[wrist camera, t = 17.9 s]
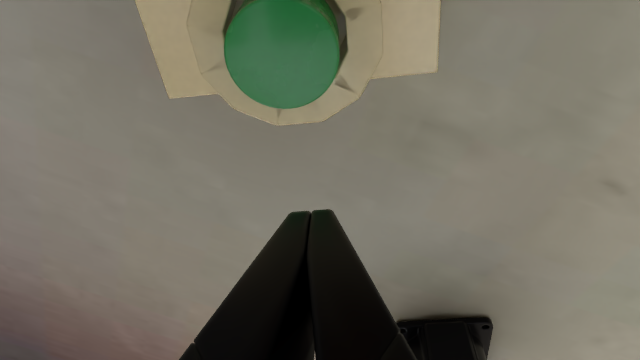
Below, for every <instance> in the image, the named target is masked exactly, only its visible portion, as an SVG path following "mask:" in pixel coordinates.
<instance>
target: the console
mask: <svg viewBox="0 0 640 360" xmlns="http://www.w3.org/2000/svg"><path fill="white" fill-rule="evenodd" d="M325 1H326V2H327V3H328V5H329V6H330V8H331V9H332V11H333V13H334V15H335V18H336V21H337V24H338V30H339V52H340V59H339V67H338V71H337V74H336V76H335V79H334V80H333V82H332V84H331V86H330V87H329V88H328V89H327V91H326V92H325V93H324V94H323V95H322V96H320V97H319V98H318V99H316V100H315V101H313V102H311V103H309V104H307V105H304V106H301V107H298V108H292V109H278V108H272V107H268V106H265V105H262V104H260V103H258V102H256V101H254V100H253V99H251V98H250V97H248V96H247V95H246V94H244V93H243V92H242V91H241V90H240V89H239V87H238V86H237V85H236V84H235V82H234V81H233V79H232V77H231V76H230V74H229V71H228V69H227V66H226V63H225V58H224V40H225V35H226V32H227V29H228V27H229V25H230V23H231V21H232V19H233V18H234V16H235V14H236V13H237V11H238V10H239V8H240V6H241V5H242V3H243V2H244V0H135V3H136V6H137V9H138V11H139V14H140V17H141V20H142V23H143V26H144V29H145V31H146V34H147V37H148V40H149V43H150V46H151V48H152V51H153V54H154V57H155V60H156V63H157V66H158V68H159V71H160V74H161V77H162V80H163V83H164V86H165V88H166V91H167V94H168V97H169V99H172V98H182V97H192V96H203V95H213V94H219V95H220V96H221V97H222V98H223V99H224V100H225V101H226V102H227V103H228V104H229V105H230V106H231V107H232V108H233V109H235V110H237V111H239V112H242V113H244V114H247V115H250V116H252V117H255V118H257V119H260V120H263V121H265V122H268V123H271V124H273V125H278V126H282V125H293V124H304V123H315V122H321V121H322V122H323V121H325V120H326V119H328V118H329V117H331V116H333V115H334V114H336V113H337V112H339V111H340V110H342V109H343V108H345V107H347V106H348V105H350V104H351V103H353V102H354V101H356V100H357V99H359V98H360V96H361V95H362V93H363V92H364V90H365V88H366V86H367V84H368V82H369V80H370V79H375V78H385V77H395V76H405V75H416V74H426V73H436V72H437V71H438V54H439V31H440V9H441V0H325Z"/></svg>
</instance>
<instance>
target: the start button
mask: <svg viewBox="0 0 640 360" xmlns="http://www.w3.org/2000/svg"><path fill="white" fill-rule="evenodd" d="M224 58H225V63H226V66H227V69H228V71H229V74H230V76H231V77H232V79H233V81H234V82H235V84H236V85H237V86H238V87H239V89H240V90H241V91H242V92H243V93H244V94H246V95H247V96H248V97H250V98H251V99H253V100H254V101H256V102H258V103H260V104H262V105H265V106H268V107H272V108H278V109H292V108H298V107H301V106H304V105H307V104H309V103H311V102H313V101H315V100H316V99H318V98H319V97H320V96H322V95H323V94H324V93H325V92H326V91H327V89H328V88H329V87H330V86H331V84H332V82H333V80H334V79H335V76H336V74H337V71H338V67H339V59H340V52H339V30H338V24H337V21H336V18H335V15H334V13H333V11H332V9H331V8H330V6H329V5H328V3H327V2H326V1H325V0H244V2H243V3H242V5H241V6H240V8H239V10H238V11H237V13H236V14H235V16H234V18H233V19H232V21H231V23H230V25H229V27H228V29H227V32H226V35H225V40H224Z"/></svg>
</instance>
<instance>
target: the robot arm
mask: <svg viewBox="0 0 640 360" xmlns="http://www.w3.org/2000/svg"><path fill="white" fill-rule="evenodd" d="M492 330H493V324H492V321H491V319H489V318H466V319H446V320H426V321H406V322H399V323H397V324H396V322H395V321H394V319H393V317H392V315H391V314H390V312H389V310H388V308H387V306H386V305H385V303H384V301H383V299H382V297H381V296H380V294H379V292H378V290H377V289H376V287H375V285H374V283H373V281H372V280H371V278H370V276H369V274H368V273H367V271H366V269H365V267H364V265H363V264H362V262H361V260H360V258H359V257H358V255H357V253H356V251H355V249H354V248H353V246H352V244H351V242H350V241H349V239H348V237H347V235H346V233H345V232H344V230H343V228H342V226H341V225H340V223H339V221H338V219H337V217H336V216H335V214H334V212H333V211H332V210H330V209H326V210H314V211H313V212H312V213H310V212H309V211H299V212H291V213H290V214H289V215H288V216H287V217H286V219H285V220H284V221H283V223H282V224H281V225H280V227H279V228H278V229H277V231H276V232H275V233H274V235H273V236H272V237H271V239H270V240H269V241H268V242H267V244H266V245H265V246H264V248H263V249H262V250H261V252H260V253H259V254H258V256H257V257H256V258H255V260H254V261H253V262H252V264H251V265H250V266H249V268H248V269H247V270H246V272H245V273H244V274H243V276H242V277H241V278H240V280H239V281H238V282H237V284H236V285H235V286H234V288H233V289H232V290H231V292H230V293H229V294H228V296H227V297H226V298H225V300H224V301H223V302H222V304H221V305H220V306H219V308H218V309H217V310H216V312H215V313H214V314H213V316H212V317H211V318H210V319H209V321H208V322H207V323H206V325H205V326H204V327H203V329H202V330H201V331H200V333H199V334H198V335H197V337H196V338H195V339H194V343H195V344H194V343H192V344H190V346H189V347H188V348H187V350H186V351H185V352H184V354H183V355H182V356H181V358H180V359H179V360H314V353H315V355H316V360H487V355H488V350H489V345H490V340H491V335H492Z"/></svg>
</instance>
